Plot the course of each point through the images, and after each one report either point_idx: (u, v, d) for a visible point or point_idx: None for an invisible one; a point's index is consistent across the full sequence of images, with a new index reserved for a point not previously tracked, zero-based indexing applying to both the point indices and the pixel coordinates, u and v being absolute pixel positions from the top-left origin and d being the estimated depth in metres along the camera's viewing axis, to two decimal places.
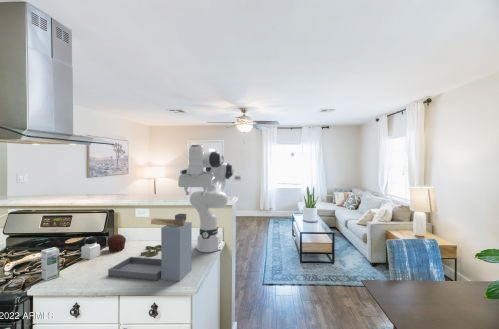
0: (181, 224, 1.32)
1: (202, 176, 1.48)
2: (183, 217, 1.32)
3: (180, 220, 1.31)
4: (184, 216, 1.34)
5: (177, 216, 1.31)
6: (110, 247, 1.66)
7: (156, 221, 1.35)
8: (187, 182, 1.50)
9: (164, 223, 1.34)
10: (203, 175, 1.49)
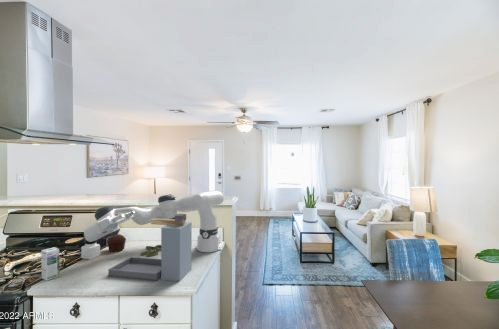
0: (181, 224, 1.32)
1: None
2: (183, 217, 1.32)
3: (180, 220, 1.31)
4: (184, 216, 1.34)
5: (177, 216, 1.31)
6: (110, 247, 1.66)
7: (156, 221, 1.35)
8: None
9: (164, 223, 1.34)
10: None
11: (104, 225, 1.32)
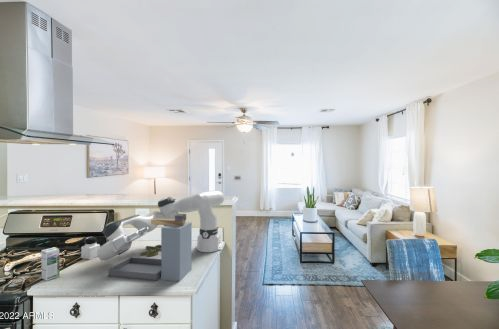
0: (181, 224, 1.32)
1: None
2: (183, 217, 1.32)
3: (180, 220, 1.31)
4: (184, 216, 1.34)
5: (177, 216, 1.31)
6: None
7: (156, 221, 1.35)
8: None
9: (164, 223, 1.34)
10: None
11: (119, 244, 1.29)
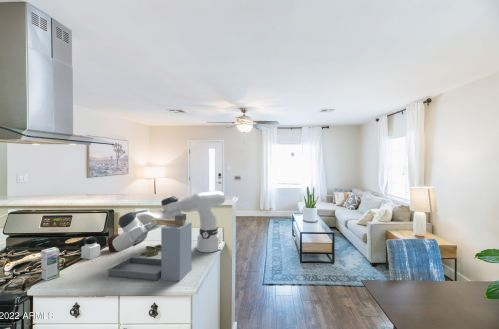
0: (181, 224, 1.32)
1: None
2: (183, 217, 1.32)
3: (180, 220, 1.31)
4: (184, 216, 1.34)
5: (177, 216, 1.31)
6: (110, 247, 1.66)
7: None
8: None
9: (164, 223, 1.34)
10: None
11: (136, 233, 1.28)
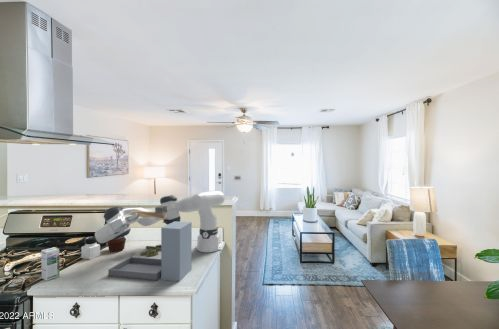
0: (161, 216, 1.34)
1: None
2: (163, 209, 1.34)
3: (160, 212, 1.33)
4: (165, 208, 1.35)
5: (157, 208, 1.33)
6: (110, 247, 1.66)
7: None
8: None
9: (145, 215, 1.35)
10: None
11: (116, 225, 1.29)
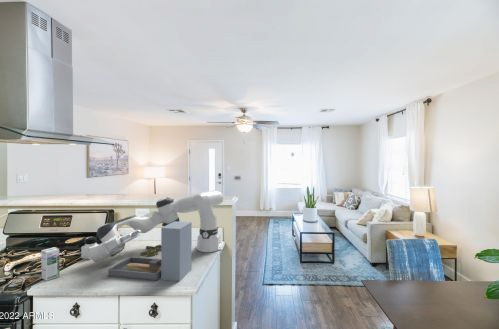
0: (155, 270, 1.35)
1: None
2: (157, 264, 1.36)
3: (154, 267, 1.34)
4: (158, 262, 1.37)
5: (151, 263, 1.35)
6: None
7: (131, 267, 1.38)
8: None
9: (139, 269, 1.37)
10: None
11: (111, 246, 1.30)
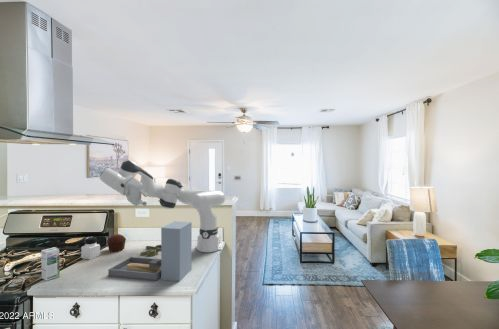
0: (155, 270, 1.35)
1: None
2: (157, 264, 1.36)
3: (154, 267, 1.34)
4: (158, 262, 1.37)
5: (151, 263, 1.35)
6: (110, 247, 1.66)
7: (131, 267, 1.38)
8: None
9: (139, 269, 1.37)
10: None
11: (134, 183, 1.37)
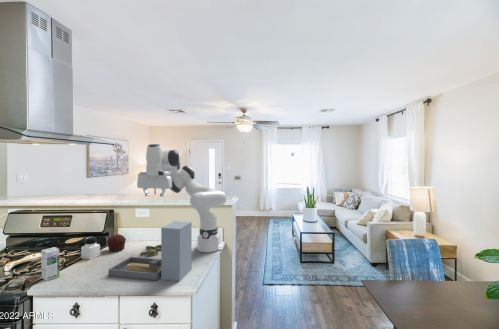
0: (155, 270, 1.35)
1: None
2: (157, 264, 1.36)
3: (154, 267, 1.34)
4: (158, 262, 1.37)
5: (151, 263, 1.35)
6: (110, 247, 1.66)
7: (131, 267, 1.38)
8: None
9: (139, 269, 1.37)
10: None
11: (169, 183, 1.45)
